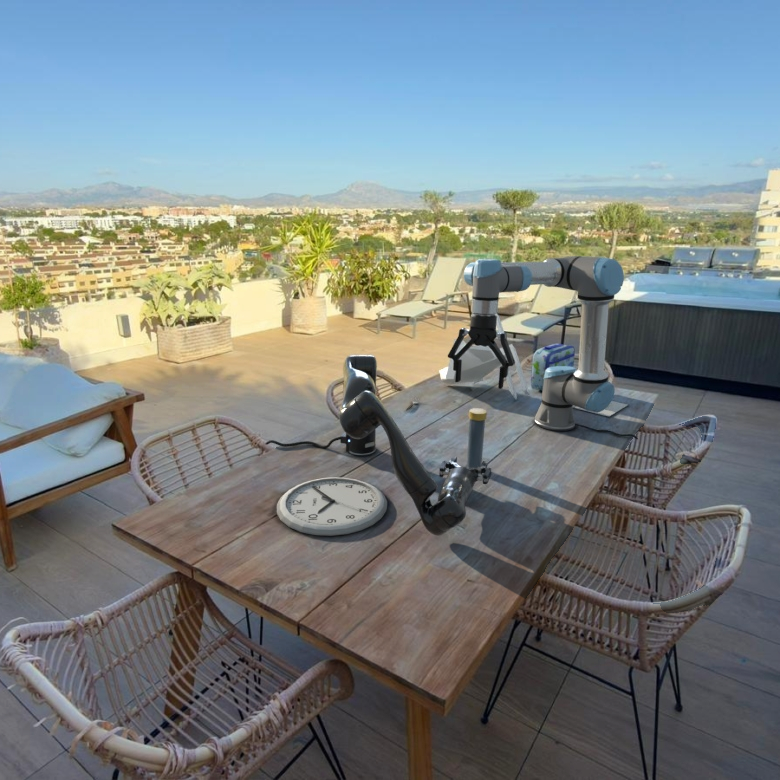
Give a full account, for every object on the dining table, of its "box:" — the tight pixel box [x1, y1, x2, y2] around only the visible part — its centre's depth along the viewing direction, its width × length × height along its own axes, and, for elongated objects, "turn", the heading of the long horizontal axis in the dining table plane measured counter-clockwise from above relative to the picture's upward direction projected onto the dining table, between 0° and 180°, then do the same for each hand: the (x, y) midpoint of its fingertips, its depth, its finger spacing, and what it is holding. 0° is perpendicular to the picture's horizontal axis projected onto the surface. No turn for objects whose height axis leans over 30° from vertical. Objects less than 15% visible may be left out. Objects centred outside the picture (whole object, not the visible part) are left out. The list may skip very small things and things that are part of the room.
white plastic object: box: [438, 312, 531, 400], centre depth 245 cm, size 37×45×31 cm
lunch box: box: [530, 343, 576, 391], centre depth 249 cm, size 26×11×21 cm, turn 134°
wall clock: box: [276, 476, 388, 537], centre depth 142 cm, size 30×2×30 cm
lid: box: [468, 407, 488, 421], centre depth 160 cm, size 5×5×2 cm
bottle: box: [466, 418, 486, 472], centre depth 163 cm, size 5×5×19 cm
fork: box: [405, 396, 421, 411], centre depth 222 cm, size 3×16×2 cm, turn 160°
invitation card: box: [573, 400, 629, 418], centre depth 226 cm, size 21×1×15 cm
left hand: (469, 461), depth 156 cm, fingers open, 8 cm apart
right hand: (478, 384), depth 158 cm, fingers open, 13 cm apart
